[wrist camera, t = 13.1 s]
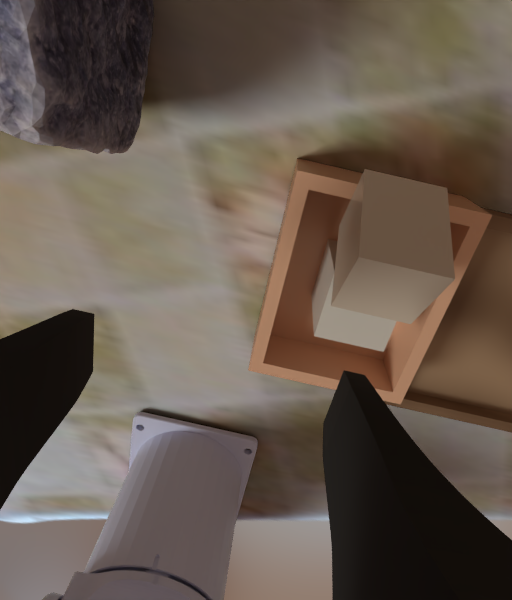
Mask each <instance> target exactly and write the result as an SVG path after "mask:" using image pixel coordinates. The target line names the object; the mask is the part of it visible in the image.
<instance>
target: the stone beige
mask: <svg viewBox="0 0 512 600" xmlns="http://www.w3.org/2000/svg"><path fill="white" fill-rule="evenodd" d="M454 280H455V273H454V261H453V250H452V238H451V227H450V215H449V203H448V192H447V188H445V187H441V186H437V185H432V184H428V183H424V182H419V181H415V180H411V179H406V178H402V177H398V176H393V175H389V174H385V173H380V172H376V171H372V170H368V169H364V172H363V174H362V176H361V178H360V181H359V183H358V185H357V187H356V189H355V192H354V194H353V196H352V198H351V200H350V203H349V205H348V207H347V209H346V212H345V214H344V216H343V218H342V220H341V223H340V225H339V234H338V243H337V253H336V262H335V272H334V281H333V291H332V300H331V306H333V307H337V308H342V309H346V310H350V311H355V312H359V313H364V314H368V315H372V316H377V317H381V318H386V319H390V320H394V321H399V322H403V323H408V324H411V323H412V322H413V321H414V320H415V319H416V318H417V317H418V316H419V315H420V314H421V313H422V312H423V311H424V310H425V309H426V308H427V307H428V306H429V305H430V304H431V303H432V302H433V301H434V300H435V299H436V298H437V297H438V296H439V295H440V294H441V293H442V292H443V291H444V290H445V289H446V288H447V287H448V286H449V285H450V284H451V283H452V282H453V281H454Z"/></svg>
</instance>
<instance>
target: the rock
mask: <svg viewBox="0 0 512 600" xmlns="http://www.w3.org/2000/svg"><path fill="white" fill-rule="evenodd" d="M153 17H154V8H153V0H0V130H1V131H3V132H5V133H8V134H10V135H12V136H15V137H17V138H19V139H22V140H25V141H28V142H31V143H34V144H40V145H49V146H62V147H66V148H71V149H82V150H88V151H90V152H93V153H96V154H98V153H100V152H102V151H103V150H104V151H106V152H108V153H111V154H113V153H124V152H126V151H127V150H128V149H129V148H130V146H131V145H132V143H133V140H134V138H135V135H136V132H137V130H138V128H139V124H140V118H141V110H142V100H143V96H144V93H145V80H146V77H147V66H148V53H149V47H150V41H151V37H152V31H153Z"/></svg>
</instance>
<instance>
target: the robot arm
mask: <svg viewBox="0 0 512 600" xmlns="http://www.w3.org/2000/svg"><path fill="white" fill-rule="evenodd" d="M93 345H94V314H92V313H88V312H83V311H79V310H74V309H72V310H69V311H67V312H64V313H61V314H59V315H57V316H54V317H52V318H49V319H47V320H45V321H42V322H40V323H38V324H36V325H33V326H31V327H28V328H26V329H24V330H21V331H19V332H17V333H14V334H12V335H10V336H7V337H5V338H2V339H0V509H1V508H2V506H3V504H4V503H5V501H6V499H7V498H8V496H9V494H10V493H11V491H12V490H13V488H14V486H15V485H16V483H17V481H18V480H19V479H20V477H21V476H22V474H23V473H24V471H25V470H26V468H27V467H28V466H29V464H30V463H31V462H32V460H33V459H34V458H35V456H36V455H37V454H38V452H39V451H40V450H41V448H42V447H43V446H44V444H45V443H46V442H47V440H48V439H49V438H50V436H51V435H52V434H53V432H54V431H55V430H56V428H57V427H58V426H59V424H60V423H61V422H62V420H63V419H64V418H65V416H66V415H67V414H68V412H69V411H70V409H71V408H72V407H73V405H74V404H75V403H76V401H77V399H78V398H79V396H80V394H81V392H82V391H83V389H84V387H85V385H86V383H87V382H88V380H89V378H90V376H91V374H92V372H93ZM140 425H143V426H140ZM257 446H258V441H257V439H256V438H255V437H252V436H248V435H243V434H239V433H234V432H230V431H225V430H221V429H217V428H212V427H208V426H203V425H199V424H194V423H190V422H185V421H181V420H176V419H172V418H167V417H163V416H158V415H154V414H149V413H145V412H138V413H136V414H135V416H134V419H133V427H132V439H131V450H130V462H129V472H128V474H127V476H126V479H125V481H124V483H123V485H122V488H121V490H120V492H119V494H118V496H117V499H116V501H115V503H114V505H113V508H112V510H111V512H110V514H109V516H108V519H107V521H106V523H105V525H104V528H103V530H102V532H101V534H100V536H99V539H98V541H97V543H96V545H95V548H94V550H93V552H92V554H91V557H90V559H89V561H88V563H87V566H86V568H85V570H84V572H75V573H74V575H73V577H72V579H71V581H70V583H69V586H68V588H67V590H66V592H65V594H64V595H61V594H57V593H50V594H48V595H47V596H45V597H44V598H43V599H42V600H224V593H225V587H226V581H227V574H228V567H229V560H230V554H231V547H232V540H233V534H234V527H235V523H236V520H237V516H238V513H239V509H240V506H241V502H242V499H243V495H244V492H245V488H246V485H247V482H248V478H249V475H250V471H251V468H252V464H253V461H254V457H255V454H256V450H257ZM247 449H251V450H247ZM323 464H324V474H325V483H326V493H327V502H328V511H329V520H330V530H331V541H332V569H333V570H332V571H333V572H332V573H333V575H332V578H333V579H332V581H333V600H512V540H511V539H510V538H509V537H507V536H506V535H505V534H504V533H503V532H502V531H500V530H499V529H498V528H497V527H496V526H495V525H494V524H493V523H491V522H490V521H489V520H488V519H487V518H486V517H485V516H484V515H483V514H482V513H480V512H479V511H478V510H477V509H476V508H475V507H474V506H473V505H472V504H471V503H470V502H469V501H468V500H467V499H466V498H465V497H464V496H463V495H462V494H461V493H460V492H459V491H458V490H457V489H456V488H455V487H454V486H453V485H452V484H451V483H450V482H449V481H448V480H447V479H446V478H445V477H444V476H443V475H442V474H441V473H440V472H439V470H438V469H437V468H436V467H435V466H434V465H433V464H432V463H431V462H430V460H429V459H428V458H427V457H426V456H425V454H424V453H423V452H422V451H421V450H420V448H419V447H418V446H417V445H416V444H415V442H414V441H413V440H412V439H411V437H410V436H409V435H408V434H407V432H406V431H405V430H404V428H403V427H402V426H401V424H400V423H399V422H398V420H397V419H396V418H395V416H394V415H393V414H392V412H391V411H390V409H389V408H388V407H387V405H386V404H385V402H384V401H383V400H382V398H381V397H380V395H379V394H378V393H377V391H376V390H375V388H374V387H373V385H372V384H371V383H370V381H369V380H368V378H367V377H366V376H365V375H363V374H359V373H354V372H350V371H345V370H344V371H343V373H342V376H341V379H340V381H339V384H338V386H337V389H336V392H335V394H334V397H333V400H332V402H331V405H330V408H329V410H328V413H327V415H326V418H325V421H324V425H323Z"/></svg>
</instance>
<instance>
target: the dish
mask: <svg viewBox="0 0 512 600" xmlns="http://www.w3.org/2000/svg"><path fill="white" fill-rule="evenodd" d="M362 174H363V173H360V172H355V171H351V170H347V169H342V168H338V167H334V166H329V165H325V164H321V163H316V162H312V161H308V160H303V159H299V158H297V162H296V166H295V170H294V174H293V179H292V183H291V187H290V191H289V195H288V199H287V203H286V208H285V212H284V216H283V220H282V224H281V228H280V232H279V237H278V241H277V245H276V249H275V253H274V257H273V262H272V266H271V270H270V274H269V278H268V282H267V286H266V291H265V295H264V299H263V303H262V307H261V311H260V315H259V320H258V324H257V328H256V332H255V336H254V342H253V347H252V353H251V358H250V364H249V369H248V370H249V371H254V372H258V373H263V374H267V375H271V376H276V377H280V378H285V379H289V380H294V381H298V382H303V383H307V384H311V385H316V386H320V387H325V388H329V389H334V390H336V389H337V386H338V384H339V381H340V379H341V376H342V373H343V371H344V370H345V371H350V372H354V373H359V374H363V375H365V376H366V377H367V378H368V380H369V381H370V383H371V384H372V385H373V387H374V388H375V390H376V391H377V393H378V394H379V395H380V397H381V398H382V400H383V401H387V402H392V403H396V404H400V405H401V403H402V401H403V398H404V396H405V394H406V392H407V390H408V388H409V386H410V384H411V382H412V380H413V378H414V376H415V374H416V372H417V370H418V368H419V366H420V363H421V361H422V359H423V357H424V355H425V353H426V351H427V349H428V347H429V345H430V343H431V341H432V339H433V337H434V335H435V333H436V330H437V328H438V326H439V324H440V322H441V320H442V318H443V316H444V314H445V312H446V310H447V308H448V306H449V304H450V302H451V300H452V298H453V295H454V293H455V291H456V289H457V287H458V285H459V283H460V281H461V279H462V277H463V275H464V273H465V271H466V269H467V267H468V265H469V263H470V260H471V258H472V256H473V254H474V252H475V250H476V248H477V246H478V244H479V242H480V240H481V238H482V236H483V234H484V232H485V230H486V228H487V225H488V223H489V221H490V219H491V217H492V215H491V214H490V213H488V212H487V211H485V210H484V209H482V208H480V207H479V206H477V205H476V204H474V203H473V202H471V201H469V200H468V199H466V198H465V197H463V196H460V195H455V194H451V193H448V203H449V215H450V227H451V238H452V250H453V261H454V273H455V280H454V281H453V282H452V283H451V284H450V285H449V286H448V287H447V288H446V289H445V290H444V291H443V292H442V293H441V294H440V295H439V296H438V297H437V298H436V299H435V300H434V301H433V302H432V303H431V304H430V305H429V306H428V307H427V308H426V309H425V310H424V311H423V312H422V313H421V314H420V315H419V316H418V317H417V318H416V319H415V320H414V321H413V322H412V323H411V324H408V323H403V322H399V321H397V322H396V324H395V326H394V329H393V331H392V333H391V336H390V338H389V340H388V343H387V345H386V348H385V350H384V352H382V351H377V350H373V349H369V348H364V347H360V346H355V345H351V344H346V343H342V342H337V341H333V340H328V339H324V338H320V337H315V336H314V329H313V312H312V296H311V294H312V291H313V287H314V284H315V281H316V277H317V274H318V271H319V267H320V264H321V261H322V257H323V254H324V251H325V247H326V244H327V241H328V239H330V240H335V241H338V234H339V225H340V223H341V220H342V218H343V216H344V214H345V212H346V209H347V207H348V205H349V203H350V200H351V198H352V196H353V194H354V192H355V189H356V187H357V185H358V183H359V181H360V178H361V176H362Z"/></svg>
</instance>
